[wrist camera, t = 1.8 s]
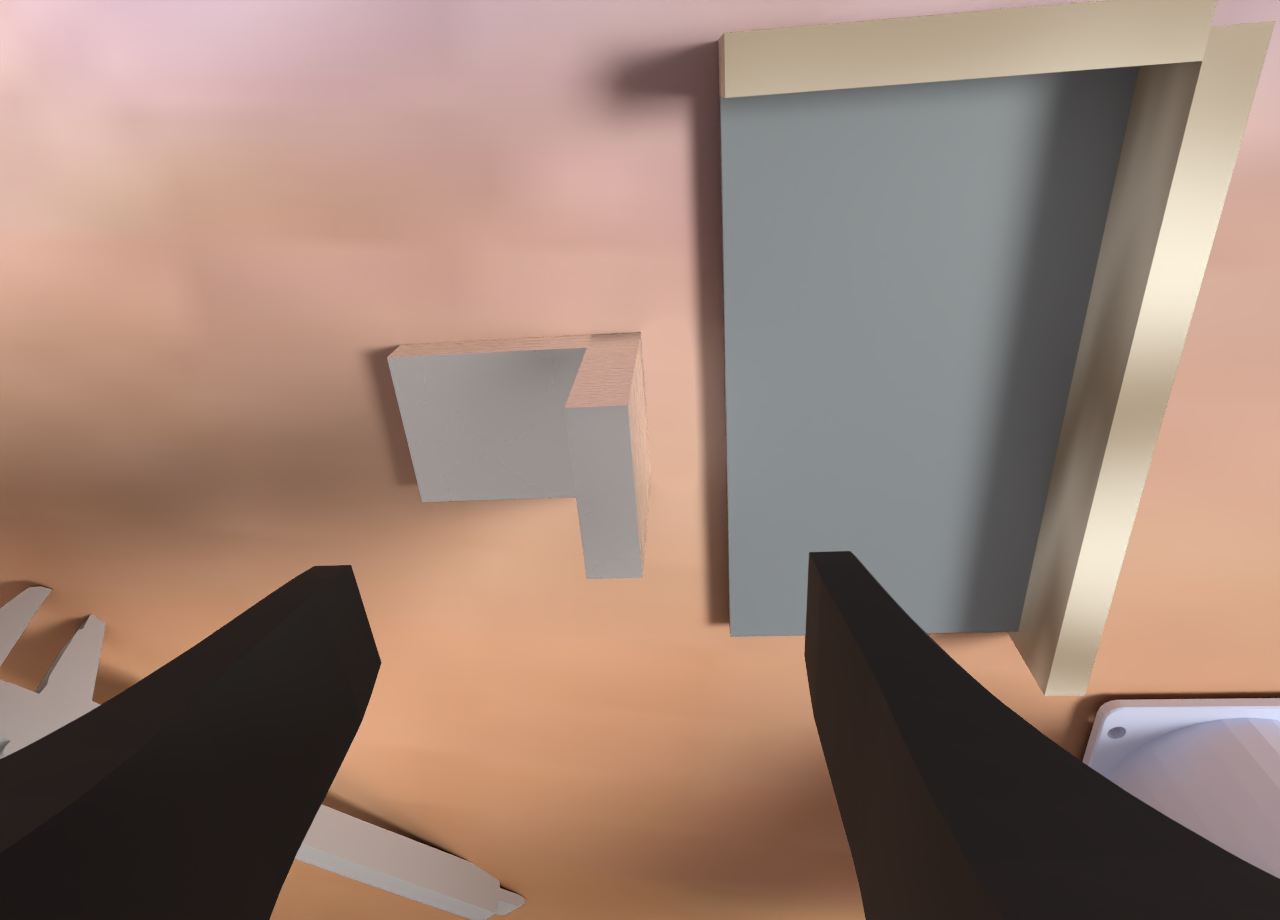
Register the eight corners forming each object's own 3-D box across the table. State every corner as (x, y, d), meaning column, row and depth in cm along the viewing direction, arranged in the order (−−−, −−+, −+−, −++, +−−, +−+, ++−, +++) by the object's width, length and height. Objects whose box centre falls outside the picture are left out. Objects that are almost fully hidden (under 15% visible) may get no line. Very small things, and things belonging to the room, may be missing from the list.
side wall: (1123, 64, 14) (1203, 60, 12) (719, 94, 15) (725, 98, 13) (1135, 5, 14) (1220, -9, 12) (718, 40, 15) (724, 33, 12)
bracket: (640, 331, 18) (627, 405, 14) (651, 475, 20) (642, 577, 16) (401, 343, 18) (321, 418, 14) (433, 483, 20) (370, 583, 16)
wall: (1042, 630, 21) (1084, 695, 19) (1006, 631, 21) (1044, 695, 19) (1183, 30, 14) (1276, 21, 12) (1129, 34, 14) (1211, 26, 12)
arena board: (1009, 617, 21) (1018, 631, 20) (729, 622, 22) (730, 636, 21) (1123, 64, 14) (1140, 63, 14) (719, 94, 15) (720, 95, 15)
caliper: (31, 591, 23) (-181, 755, 17) (45, 572, 23) (-166, 734, 17) (511, 902, 29) (468, 1097, 23) (529, 891, 29) (490, 1087, 23)
